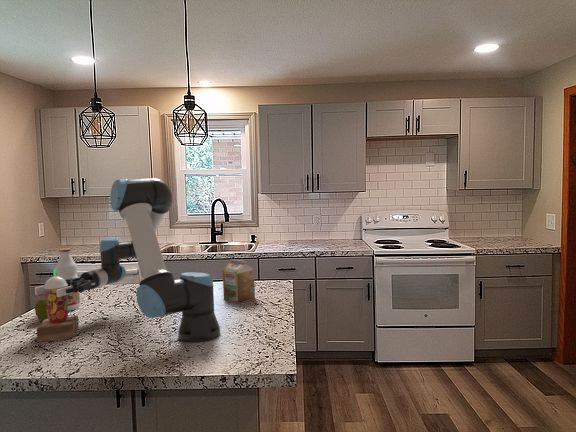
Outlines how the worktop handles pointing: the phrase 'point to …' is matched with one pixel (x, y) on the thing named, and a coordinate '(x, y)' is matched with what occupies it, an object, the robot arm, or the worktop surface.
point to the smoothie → (56, 299)
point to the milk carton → (238, 282)
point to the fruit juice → (68, 275)
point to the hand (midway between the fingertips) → (46, 292)
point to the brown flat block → (57, 329)
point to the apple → (41, 309)
